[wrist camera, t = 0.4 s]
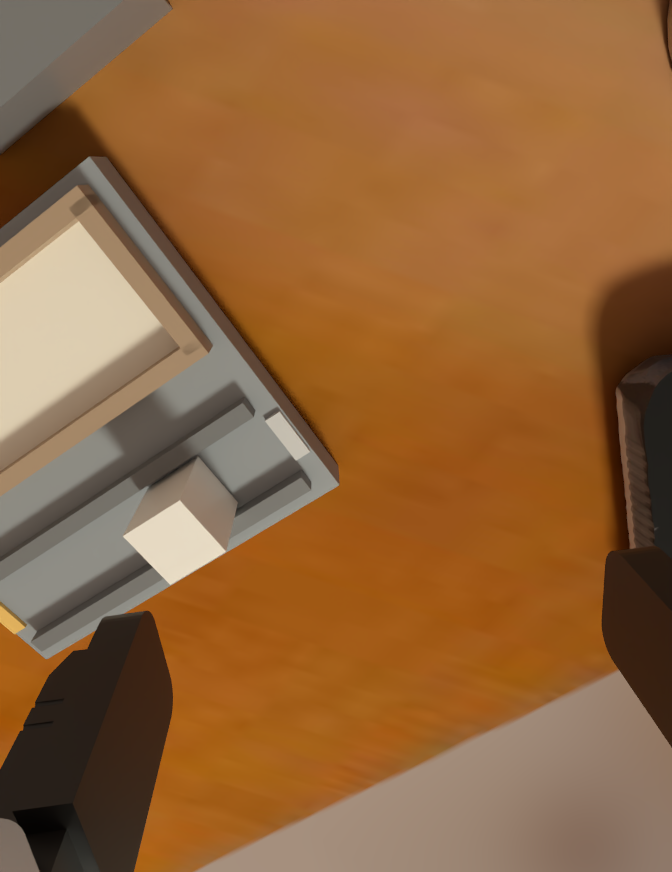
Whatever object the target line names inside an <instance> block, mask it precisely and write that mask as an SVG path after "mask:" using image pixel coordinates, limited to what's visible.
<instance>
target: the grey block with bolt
mask: <svg viewBox="0 0 672 872" xmlns="http://www.w3.org/2000/svg"><path fill="white" fill-rule="evenodd" d="M172 9H173V8H172V7H171V5H170V4H169V2H168V1H167V0H0V155H1V154H2V153H3V152H4V151H5V150H7V149H8V148H9V147H10V146H11V145H13V144H14V143H15V142H16V141H17V140H18V139H20V138H21V137H22V136H23V135H24V134H26V133H27V132H28V131H29V130H30V129H31V128H33V127H34V126H35V125H36V124H37V123H39V122H40V121H41V120H42V119H43V118H44V117H46V116H47V115H48V114H49V113H50V112H52V111H53V110H54V109H55V108H56V107H57V106H59V105H60V104H61V103H62V102H63V101H65V100H66V99H67V98H68V97H69V96H70V95H72V94H73V93H74V92H75V91H76V90H77V89H79V88H80V87H81V86H82V85H83V84H85V83H86V82H87V81H88V80H89V79H90V78H92V77H93V76H94V75H95V74H96V73H98V72H99V71H100V70H101V69H102V68H103V67H105V66H106V65H107V64H108V63H109V62H111V61H112V60H113V59H114V58H115V57H116V56H118V55H119V54H120V53H121V52H122V51H124V50H125V49H126V48H127V47H128V46H129V45H131V44H132V43H133V42H134V41H135V40H137V39H138V38H139V37H140V36H141V35H142V34H144V33H145V32H146V31H147V30H148V29H149V28H151V27H152V26H153V25H154V24H155V23H157V22H158V21H159V20H160V19H161V18H162V17H164V16H165V15H166V14H167V13H168V12H170V11H171V10H172Z"/></svg>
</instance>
